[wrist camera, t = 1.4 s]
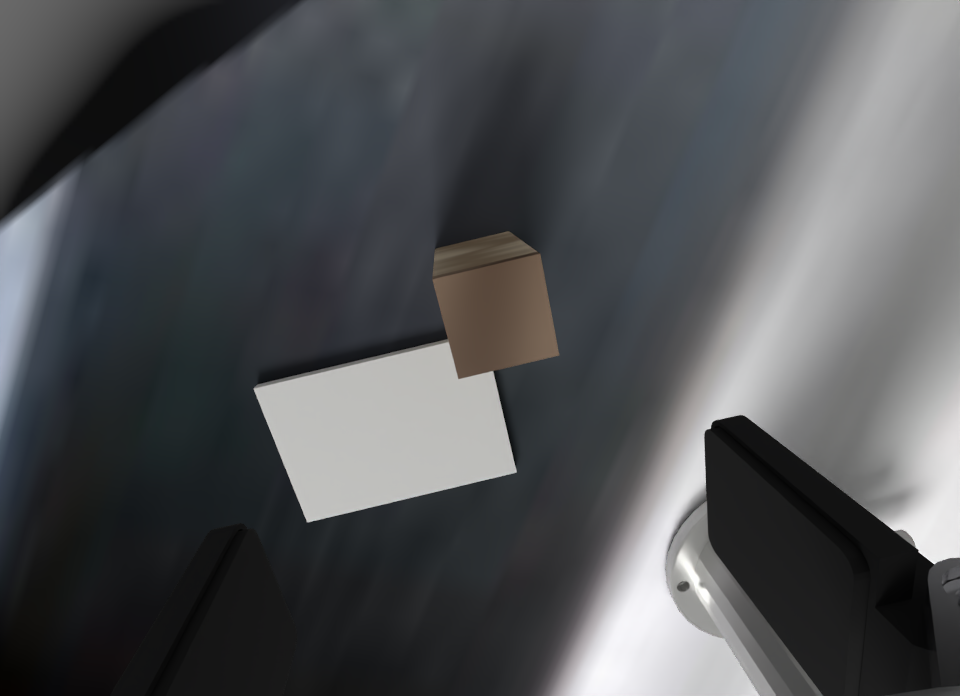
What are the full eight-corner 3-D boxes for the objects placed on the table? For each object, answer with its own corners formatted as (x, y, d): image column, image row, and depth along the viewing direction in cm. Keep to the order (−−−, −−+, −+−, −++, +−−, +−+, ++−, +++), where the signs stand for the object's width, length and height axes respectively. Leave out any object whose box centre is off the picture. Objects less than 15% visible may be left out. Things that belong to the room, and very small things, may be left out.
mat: (483, 330, 29) (484, 333, 28) (515, 467, 31) (516, 472, 31) (257, 384, 29) (253, 388, 28) (309, 516, 31) (307, 522, 31)
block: (508, 231, 27) (540, 253, 18) (523, 303, 28) (558, 355, 20) (435, 248, 27) (432, 279, 18) (452, 319, 28) (458, 379, 20)
